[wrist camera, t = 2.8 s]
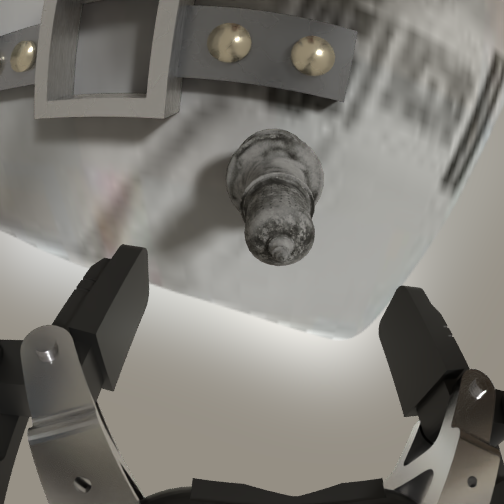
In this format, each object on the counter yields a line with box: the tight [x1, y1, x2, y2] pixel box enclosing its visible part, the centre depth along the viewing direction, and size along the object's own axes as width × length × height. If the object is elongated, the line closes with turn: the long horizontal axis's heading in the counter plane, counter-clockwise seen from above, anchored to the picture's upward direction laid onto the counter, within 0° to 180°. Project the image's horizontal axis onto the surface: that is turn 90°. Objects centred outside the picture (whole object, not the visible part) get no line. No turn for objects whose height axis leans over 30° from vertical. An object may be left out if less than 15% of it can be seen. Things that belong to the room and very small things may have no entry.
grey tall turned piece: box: [226, 129, 324, 266], centre depth 16 cm, size 6×6×12 cm
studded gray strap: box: [0, 0, 357, 119], centre depth 15 cm, size 30×10×4 cm, turn 81°
